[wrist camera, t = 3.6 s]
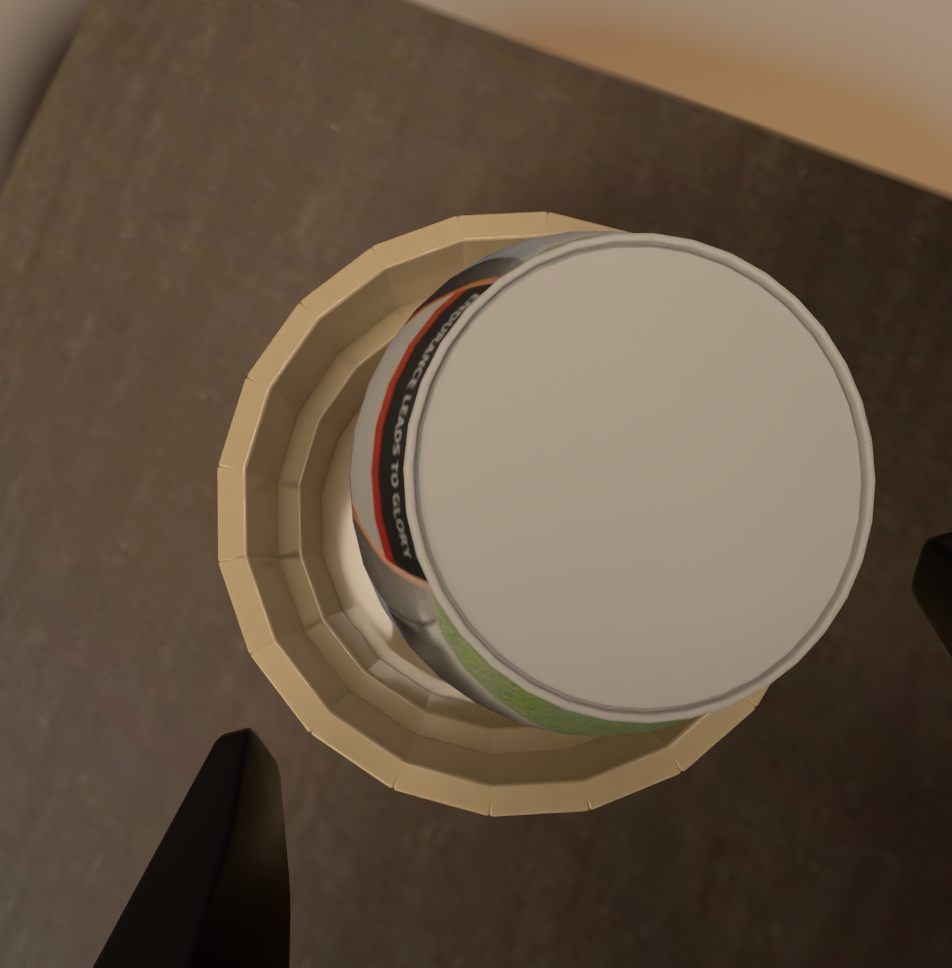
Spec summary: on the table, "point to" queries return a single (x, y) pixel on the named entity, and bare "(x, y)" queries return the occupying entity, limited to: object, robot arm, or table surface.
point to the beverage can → (611, 481)
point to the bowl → (345, 583)
